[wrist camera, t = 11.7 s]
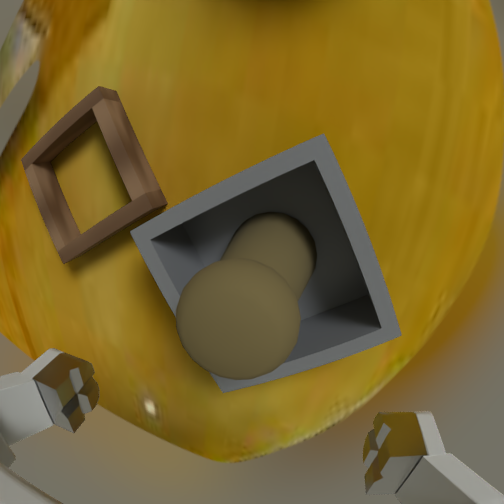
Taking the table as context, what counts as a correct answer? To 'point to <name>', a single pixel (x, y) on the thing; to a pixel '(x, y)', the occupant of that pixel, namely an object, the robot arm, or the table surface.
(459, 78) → the table surface
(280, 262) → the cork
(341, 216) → the bin
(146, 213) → the socket collar
